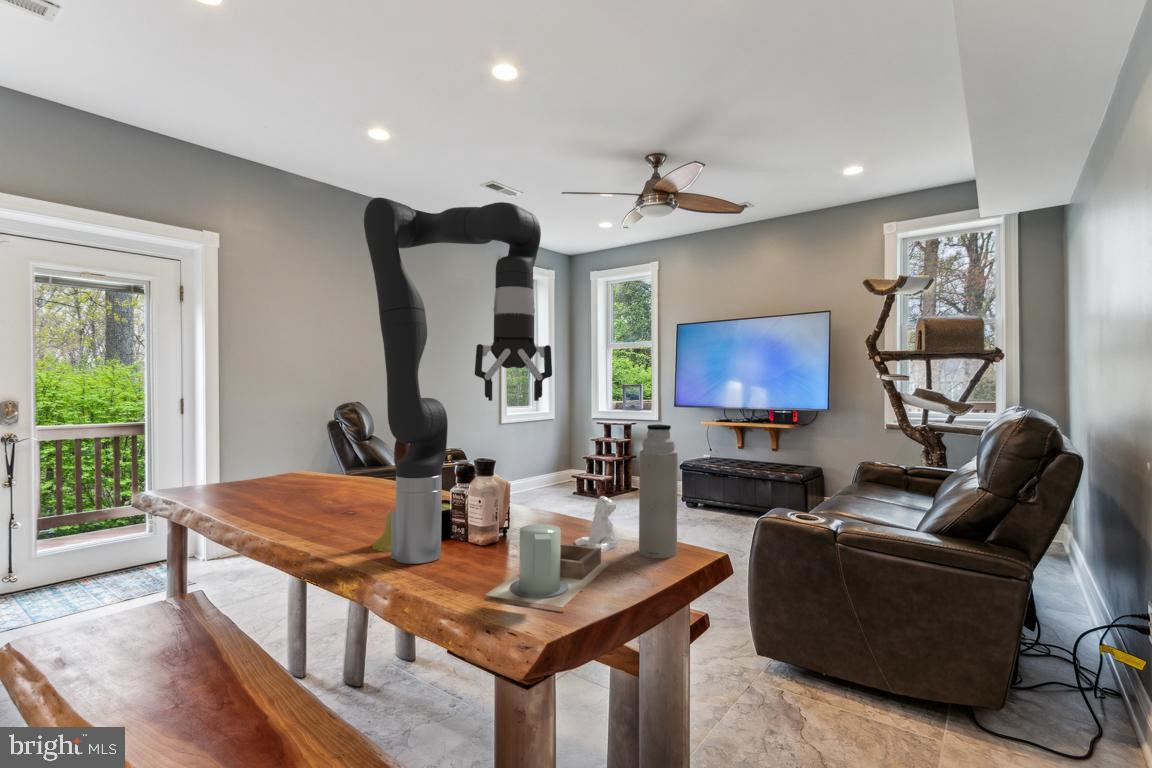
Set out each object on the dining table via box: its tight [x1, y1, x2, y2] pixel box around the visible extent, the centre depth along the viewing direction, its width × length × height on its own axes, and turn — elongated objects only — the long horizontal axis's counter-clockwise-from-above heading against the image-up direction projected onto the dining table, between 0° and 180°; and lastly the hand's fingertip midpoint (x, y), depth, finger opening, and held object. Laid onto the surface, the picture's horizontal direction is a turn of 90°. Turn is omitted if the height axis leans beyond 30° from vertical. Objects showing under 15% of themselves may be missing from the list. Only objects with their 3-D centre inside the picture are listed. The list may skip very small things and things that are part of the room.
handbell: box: [372, 438, 410, 553], centre depth 128 cm, size 12×12×25 cm
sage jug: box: [518, 523, 562, 595], centre depth 95 cm, size 10×7×10 cm
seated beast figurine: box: [574, 495, 620, 554], centre depth 124 cm, size 10×9×12 cm
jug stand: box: [483, 543, 610, 615], centre depth 103 cm, size 14×24×4 cm, turn 159°
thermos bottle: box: [638, 423, 679, 559], centre depth 120 cm, size 8×8×28 cm
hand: (513, 400), depth 105 cm, fingers open, 8 cm apart
